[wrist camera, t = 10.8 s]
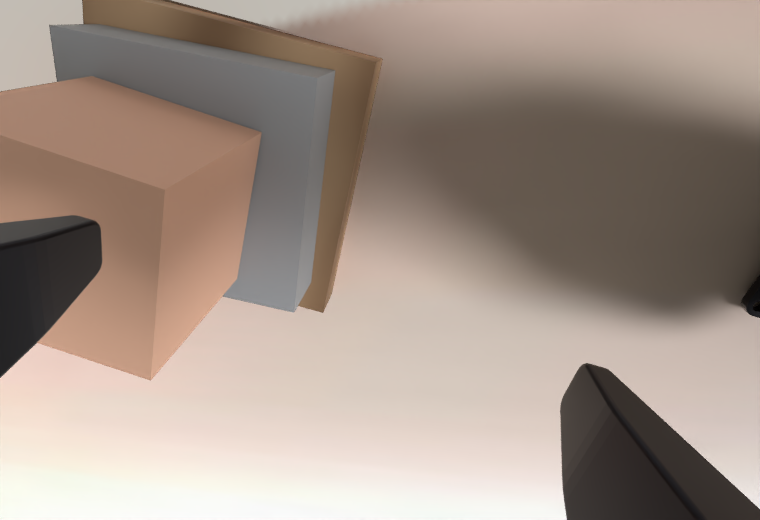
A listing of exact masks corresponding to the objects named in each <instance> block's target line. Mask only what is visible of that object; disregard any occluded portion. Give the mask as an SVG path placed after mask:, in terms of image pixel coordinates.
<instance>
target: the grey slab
mask: <svg viewBox="0 0 760 520" xmlns="http://www.w3.org/2000/svg"><path fill="white" fill-rule="evenodd" d="M49 27H50V34H51V41H52V49H53V56H54V63H55V69H56V77H57V82H60V81H66V80H72V79H77V78H83V77H89V76H94V77H97V78H100V79H103V80H106V81H109V82H112V83H115V84H118V85H121V86H124V87H127V88H130V89H133V90H136V91H139V92H142V93H145V94H148V95H151V96H154V97H157V98H160V99H163V100H166V101H169V102H172V103H175V104H178V105H181V106H184V107H187V108H190V109H193V110H196V111H199V112H202V113H205V114H208V115H211V116H214V117H217V118H220V119H223V120H226V121H229V122H232V123H235V124H238V125H241V126H244V127H247V128H250V129H253V130H256V131H259V132H262V134H261V140H260V146H259V152H258V158H257V164H256V170H255V176H254V182H253V187H252V193H251V199H250V205H249V211H248V217H247V223H246V229H245V235H244V241H243V247H242V253H241V259H240V265H239V271H238V277H237V280H236V281H235V282H234V283H233V284H232V285H231V287H230V288H229V289H228V290H227V291H226V292H225V294H224V295H223V297H227V298H232V299H236V300H241V301H245V302H249V303H254V304H258V305H263V306H267V307H272V308H276V309H281V310H285V311H289V312H295V310H296V308H297V307H298V305H299V303H300V301H301V299H302V298H303V296H304V294H305V292H306V291H307V289H308V287H309V285H310V283H311V279H312V270H313V261H314V253H315V244H316V235H317V226H318V218H319V209H320V200H321V191H322V183H323V174H324V165H325V157H326V148H327V139H328V130H329V122H330V113H331V104H332V96H333V87H334V78H335V70H331V69H326V68H321V67H316V66H311V65H306V64H301V63H295V62H290V61H285V60H280V59H275V58H270V57H265V56H260V55H255V54H250V53H244V52H239V51H234V50H229V49H224V48H219V47H214V46H209V45H204V44H199V43H194V42H188V41H183V40H178V39H173V38H168V37H163V36H158V35H153V34H148V33H143V32H138V31H132V30H127V29H122V28H117V27H112V26H107V25H102V24H79V25H49Z"/></svg>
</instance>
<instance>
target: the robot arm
mask: <svg viewBox="0 0 760 520" xmlns="http://www.w3.org/2000/svg"><path fill="white" fill-rule="evenodd" d="M101 266H102V239H101V227H100V225H99V224H98V223H97V222H96V221H94V220H91V219H88V218H84V217H81V216H77V215H69V216H60V217H51V218H42V219H33V220H24V221H14V222H5V223H0V378H1V377H2V376H3V375H4V374H5V373H6V372H7V371H8V370H9V369H10V368H11V367H12V366H13V365H14V364H15V363H16V362H17V361H18V360H20V359H21V358H22V357H23V356H24V355H25V354H26V353H27V352H28V351H29V350H30V349H31V348H32V347H33V346H34V345H35V344H36V343H37V342H38V341H39V340H40V339H41V338H42V337H43V336H44V335H45V334H46V333H47V332H48V331H49V330H50V329H51V328H52V327H53V325H54V324H55V323H56V322H57V321H58V320H59V319H60V317H61V316H62V315H63V314H64V313H65V312H66V310H67V309H68V308H69V307H70V306H71V304H72V303H73V302H74V301H75V300H76V299H77V297H78V296H79V295H80V294H81V293H82V292H83V290H84V289H85V288H86V287H87V286H88V285H89V283H90V282H91V281H92V280H93V279H94V278H95V276H96V275H97V274H98V272H99V271H100V269H101ZM759 301H760V275H759V277H758V278H757V279H756V281H755V282H754V284H753V285H752V286H751V288H750V289H749V291H748V292H747V293H746V295H745V296H744V298H743V300H742V302H741V303H742V307H743V308H744V310H745V311H746V312H747V313H748V314H750V315H752V316H755V317H758V318H760V304H759V305H757V306H753V305H754V304H755V303H756V302H759ZM560 414H561V452H562V482H563V494H564V502H565V509H566V516H567V520H760V509H759V508H758V507H757V506H756V505H755V504H753V503H752V502H751V501H750V500H749V499H748V498H747V497H746V496H745V495H744V494H743V493H742V492H740V491H739V490H738V489H737V488H736V487H735V486H734V485H733V484H732V483H731V482H730V481H729V480H728V479H726V478H725V477H724V476H723V475H722V474H721V473H720V472H719V471H718V470H717V469H716V468H715V467H713V466H712V465H711V464H710V463H709V462H708V461H707V460H706V459H705V458H704V457H703V456H702V455H700V454H699V453H698V452H697V451H696V450H695V449H694V448H693V447H692V446H691V445H690V444H689V443H687V442H686V441H685V440H684V439H683V438H682V437H681V436H680V435H679V434H678V433H677V432H676V431H674V430H673V429H672V428H671V427H670V426H669V425H668V424H667V423H666V422H665V421H664V420H663V419H662V418H660V417H659V416H658V415H657V414H656V413H655V412H654V411H653V410H652V409H651V408H650V407H649V406H647V405H646V404H645V403H644V402H643V401H642V400H641V399H640V398H639V397H638V396H637V395H636V394H634V393H633V392H632V391H631V390H630V389H629V388H628V387H627V386H626V385H625V384H624V383H623V382H621V381H620V380H619V379H618V378H617V377H616V376H615V375H614V374H613V373H612V372H611V371H609V370H608V369H606V368H603V367H599V366H596V365H592V364H588V363H586V364H583V365H582V366H581V367H580V368H579V369H578V371H577V372H576V374H575V376H574V378H573V380H572V381H571V383H570V385H569V387H568V389H567V390H566V392H565V394H564V396H563V398H562V402H561V408H560Z"/></svg>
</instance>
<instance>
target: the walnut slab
mask: <svg viewBox="0 0 760 520" xmlns="http://www.w3.org/2000/svg"><path fill="white" fill-rule="evenodd" d="M82 1H83V2H82V3H83V21H84V24H102V25H107V26H112V27H117V28H122V29H127V30H132V31H138V32H143V33H148V34H153V35H158V36H163V37H168V38H173V39H178V40H183V41H188V42H194V43H199V44H204V45H209V46H214V47H219V48H224V49H229V50H234V51H239V52H244V53H250V54H255V55H260V56H265V57H270V58H275V59H280V60H285V61H290V62H295V63H301V64H306V65H311V66H316V67H321V68H326V69H331V70H335V78H334V87H333V96H332V104H331V113H330V122H329V130H328V139H327V148H326V157H325V165H324V174H323V183H322V191H321V200H320V209H319V218H318V226H317V235H316V244H315V253H314V261H313V270H312V279H311V283H310V285H309V287H308V289H307V291H306V292H305V294H304V296H303V298H302V299H301V301H300V303H299V305H298V306H301V307H305V308H308V309H312V310H315V311H319V312H322V313H323V312H324V309H325V307H326V305H327V303H328V301H329V299H330V296H331V294H332V290H333V285H334V281H335V276H336V271H337V267H338V262H339V258H340V253H341V248H342V244H343V239H344V234H345V230H346V225H347V221H348V216H349V211H350V207H351V202H352V198H353V193H354V188H355V184H356V179H357V175H358V170H359V165H360V161H361V156H362V152H363V147H364V142H365V138H366V133H367V128H368V124H369V119H370V115H371V110H372V105H373V101H374V96H375V92H376V87H377V82H378V78H379V73H380V69H381V64H382V59H381V58H377V57H374V56H370V55H366V54H362V53H358V52H355V51H351V50H347V49H343V48H340V47H336V46H332V45H328V44H325V43H321V42H317V41H313V40H310V39H306V38H302V37H298V36H294V35H291V34H287V33H283V32H279V31H276V30H272V29H268V28H271V27H269V26H266V25H262V24H258V23H254V22H251V21H247V20H243V19H239V18H235V17H232V16H228V15H224V14H220V13H217V12H212V11H209V10H205V9H201V8H198V7H194V6H190V5H187V4H183V3H179V2H175V1H172V0H82Z"/></svg>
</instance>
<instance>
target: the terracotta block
mask: <svg viewBox="0 0 760 520" xmlns="http://www.w3.org/2000/svg"><path fill="white" fill-rule="evenodd" d="M261 134H262V132H259V131H256V130H253V129H250V128H247V127H244V126H241V125H238V124H235V123H232V122H229V121H226V120H223V119H220V118H217V117H214V116H211V115H208V114H205V113H202V112H199V111H196V110H193V109H190V108H187V107H184V106H181V105H178V104H175V103H172V102H169V101H166V100H163V99H160V98H157V97H154V96H151V95H148V94H145V93H142V92H139V91H136V90H133V89H130V88H127V87H124V86H121V85H118V84H115V83H112V82H109V81H106V80H103V79H100V78H97V77H94V76H89V77H83V78H77V79H72V80H66V81H60V82H54V83H48V84H42V85H37V86H30V87H25V88H19V89H13V90H7V91H1V92H0V223H5V222H14V221H24V220H33V219H42V218H51V217H60V216H69V215H77V216H81V217H84V218H88V219H91V220H94V221H96V222H97V223H98V224H99V225H100V227H101V239H102V266H101V269H100V271H99V272H98V274H97V275H96V276H95V278H94V279H93V280H92V281H91V282H90V283H89V285H88V286H87V287H86V288H85V289H84V290H83V292H82V293H81V294H80V295H79V296H78V297H77V299H76V300H75V301H74V302H73V303H72V304H71V306H70V307H69V308H68V309H67V310H66V312H65V313H64V314H63V315H62V316H61V317H60V319H59V320H58V321H57V322H56V323H55V324H54V325H53V327H52V328H51V329H50V330H49V331H48V332H47V333H46V334H45V335H44V336H43V337H42V338H41V339H40V340H39V341H38V342H37V343H40V344H43V345H46V346H49V347H52V348H55V349H58V350H61V351H64V352H67V353H70V354H73V355H76V356H79V357H82V358H85V359H88V360H91V361H94V362H97V363H100V364H103V365H106V366H109V367H112V368H115V369H118V370H121V371H124V372H127V373H130V374H133V375H136V376H139V377H142V378H145V379H148V380H152V378H153V377H154V376H155V375H156V374H157V373H158V371H159V370H160V369H161V368H162V367H163V365H164V364H165V363H166V362H167V361H168V360H169V358H170V357H171V356H172V355H173V354H174V353H175V351H176V350H177V349H178V348H179V347H180V345H181V344H182V343H183V342H184V341H185V340H186V338H187V337H188V336H189V335H190V334H191V333H192V331H193V330H194V329H195V328H196V327H197V325H198V324H199V323H200V322H201V321H202V320H203V318H204V317H205V316H206V315H207V314H208V313H209V311H210V310H211V309H212V308H213V307H214V305H215V304H216V303H217V302H218V301H219V300H220V298H221V297H222V296H223V295H224V294H225V292H226V291H227V290H228V289H229V288H230V287H231V285H232V284H233V283H234V282H235V281H236V280H237V277H238V271H239V265H240V259H241V253H242V247H243V241H244V235H245V229H246V223H247V217H248V211H249V205H250V199H251V193H252V187H253V182H254V176H255V170H256V164H257V158H258V152H259V146H260V140H261Z"/></svg>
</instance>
